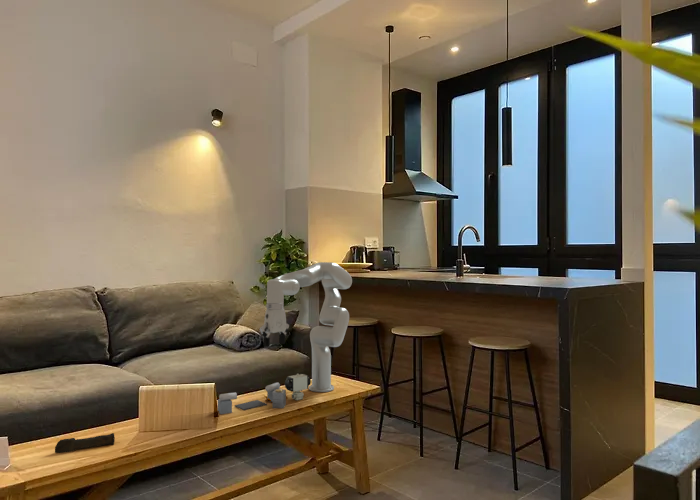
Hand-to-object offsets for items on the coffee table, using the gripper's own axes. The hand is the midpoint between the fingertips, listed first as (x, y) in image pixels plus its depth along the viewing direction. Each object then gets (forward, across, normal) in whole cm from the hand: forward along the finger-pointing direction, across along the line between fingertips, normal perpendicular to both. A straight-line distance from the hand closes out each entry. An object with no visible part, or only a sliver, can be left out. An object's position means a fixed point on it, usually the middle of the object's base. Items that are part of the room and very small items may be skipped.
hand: (274, 344), depth 238 cm
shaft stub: (+28, -17, +10) cm, 34 cm away
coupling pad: (+28, -6, +9) cm, 29 cm away
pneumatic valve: (+27, +15, -1) cm, 31 cm away
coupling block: (+28, +1, -2) cm, 28 cm away
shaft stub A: (+27, +6, +6) cm, 29 cm away
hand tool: (+30, -75, +17) cm, 83 cm away
